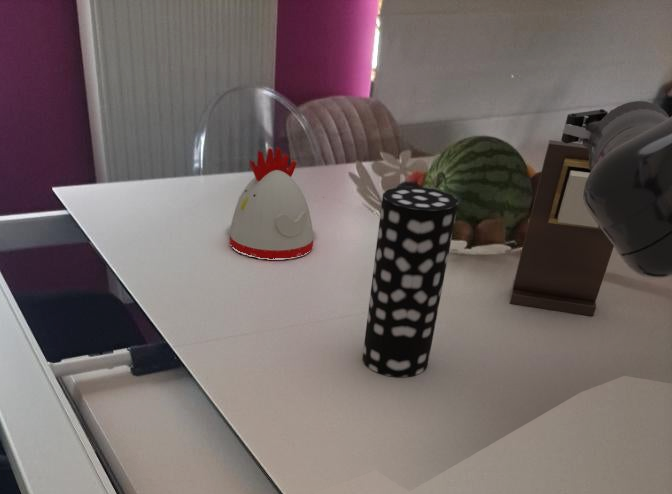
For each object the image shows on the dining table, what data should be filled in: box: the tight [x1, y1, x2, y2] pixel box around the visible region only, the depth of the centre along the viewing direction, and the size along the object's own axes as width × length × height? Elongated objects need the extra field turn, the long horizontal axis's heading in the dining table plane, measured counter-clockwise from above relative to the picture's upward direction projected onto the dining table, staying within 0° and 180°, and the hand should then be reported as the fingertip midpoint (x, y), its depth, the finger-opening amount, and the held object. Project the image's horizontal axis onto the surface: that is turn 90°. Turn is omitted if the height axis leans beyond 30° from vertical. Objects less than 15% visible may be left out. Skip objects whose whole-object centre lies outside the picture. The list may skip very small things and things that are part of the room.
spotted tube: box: [362, 186, 459, 378], centre depth 88 cm, size 8×8×20 cm
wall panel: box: [509, 139, 615, 317], centre depth 104 cm, size 6×12×22 cm, turn 74°
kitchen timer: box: [229, 146, 314, 259], centre depth 119 cm, size 14×14×15 cm
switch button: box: [558, 171, 598, 227], centre depth 98 cm, size 2×5×6 cm, turn 74°
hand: (620, 117), depth 81 cm, fingers closed
